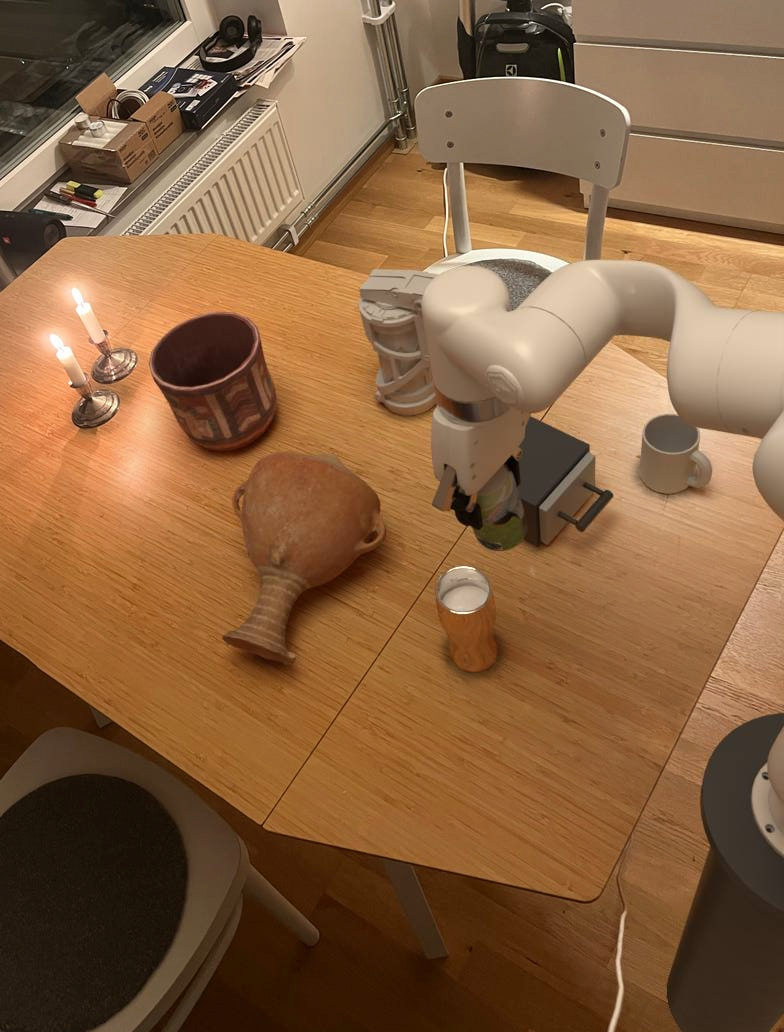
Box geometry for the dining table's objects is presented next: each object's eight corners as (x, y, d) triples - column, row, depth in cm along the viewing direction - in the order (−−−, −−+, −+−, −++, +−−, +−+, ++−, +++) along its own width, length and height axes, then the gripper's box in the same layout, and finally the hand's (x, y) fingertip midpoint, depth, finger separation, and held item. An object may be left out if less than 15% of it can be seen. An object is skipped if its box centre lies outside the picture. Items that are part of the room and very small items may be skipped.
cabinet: (589, 487, 130) (589, 444, 123) (537, 547, 126) (534, 505, 119) (504, 444, 139) (501, 401, 132) (453, 499, 134) (446, 457, 127)
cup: (659, 447, 132) (664, 405, 126) (723, 482, 126) (731, 440, 120) (628, 477, 130) (631, 436, 123) (691, 514, 124) (697, 473, 117)
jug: (419, 464, 124) (352, 671, 110) (364, 505, 141) (300, 690, 127) (291, 398, 121) (204, 601, 107) (249, 448, 138) (170, 630, 124)
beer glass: (437, 641, 120) (423, 579, 109) (484, 618, 120) (474, 554, 109) (462, 684, 115) (450, 625, 104) (511, 660, 116) (504, 598, 105)
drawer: (621, 504, 126) (623, 469, 120) (574, 560, 122) (574, 527, 116) (515, 449, 136) (512, 415, 131) (468, 500, 132) (463, 466, 127)
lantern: (369, 408, 150) (340, 292, 132) (398, 365, 155) (374, 248, 137) (440, 428, 144) (420, 309, 126) (468, 383, 149) (453, 262, 131)
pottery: (251, 477, 146) (218, 401, 133) (165, 450, 154) (127, 375, 141) (304, 400, 155) (279, 321, 142) (221, 378, 163) (190, 301, 150)
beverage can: (539, 528, 104) (534, 457, 95) (501, 572, 101) (493, 503, 92) (492, 504, 107) (484, 434, 99) (455, 546, 104) (443, 478, 96)
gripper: (495, 319, 91) (506, 436, 104) (386, 429, 85) (411, 539, 98) (561, 345, 87) (563, 464, 100) (451, 463, 80) (468, 574, 94)
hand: (488, 500), depth 99 cm, fingers closed on beverage can, 6 cm apart
